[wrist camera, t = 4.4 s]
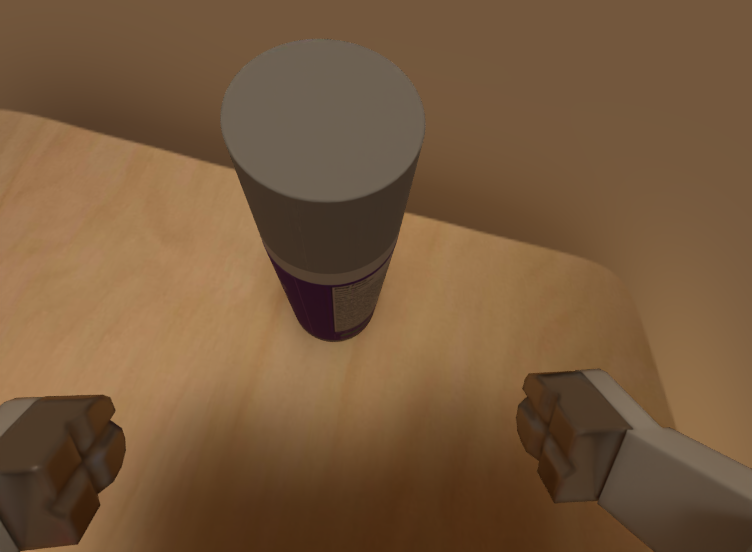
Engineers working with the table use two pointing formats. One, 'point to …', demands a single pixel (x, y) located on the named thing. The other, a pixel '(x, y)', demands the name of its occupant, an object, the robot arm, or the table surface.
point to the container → (325, 171)
